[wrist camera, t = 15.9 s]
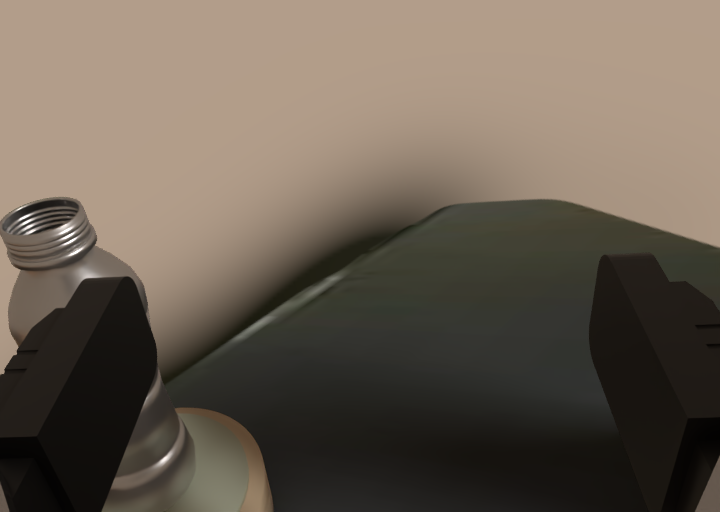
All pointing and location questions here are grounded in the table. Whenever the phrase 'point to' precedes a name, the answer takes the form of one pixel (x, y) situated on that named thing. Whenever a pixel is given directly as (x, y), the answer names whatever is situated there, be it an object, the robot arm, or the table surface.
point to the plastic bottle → (54, 290)
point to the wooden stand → (223, 467)
